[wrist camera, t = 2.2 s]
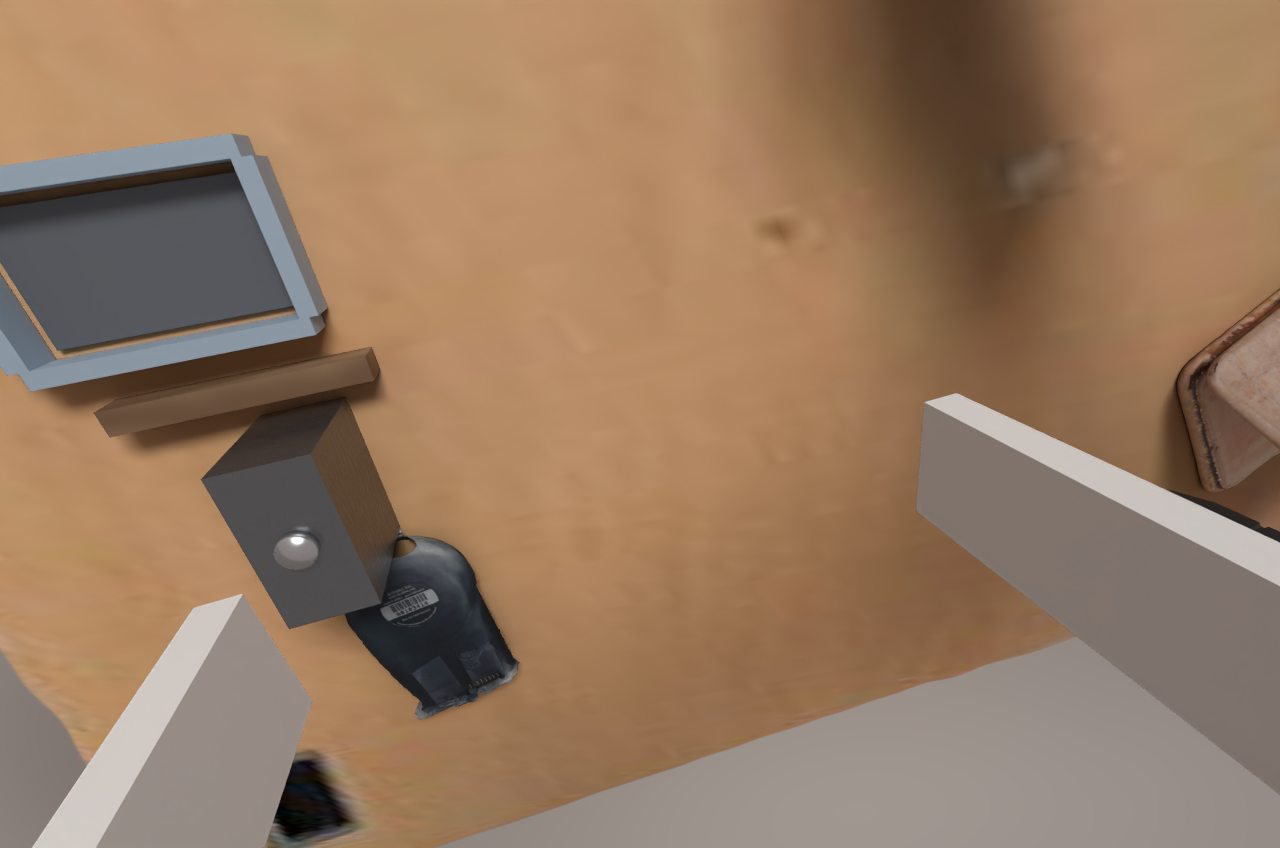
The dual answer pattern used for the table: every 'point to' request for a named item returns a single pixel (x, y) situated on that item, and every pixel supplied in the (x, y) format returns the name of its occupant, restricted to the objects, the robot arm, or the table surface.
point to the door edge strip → (237, 392)
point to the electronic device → (435, 629)
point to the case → (1235, 399)
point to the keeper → (149, 261)
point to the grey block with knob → (308, 511)
